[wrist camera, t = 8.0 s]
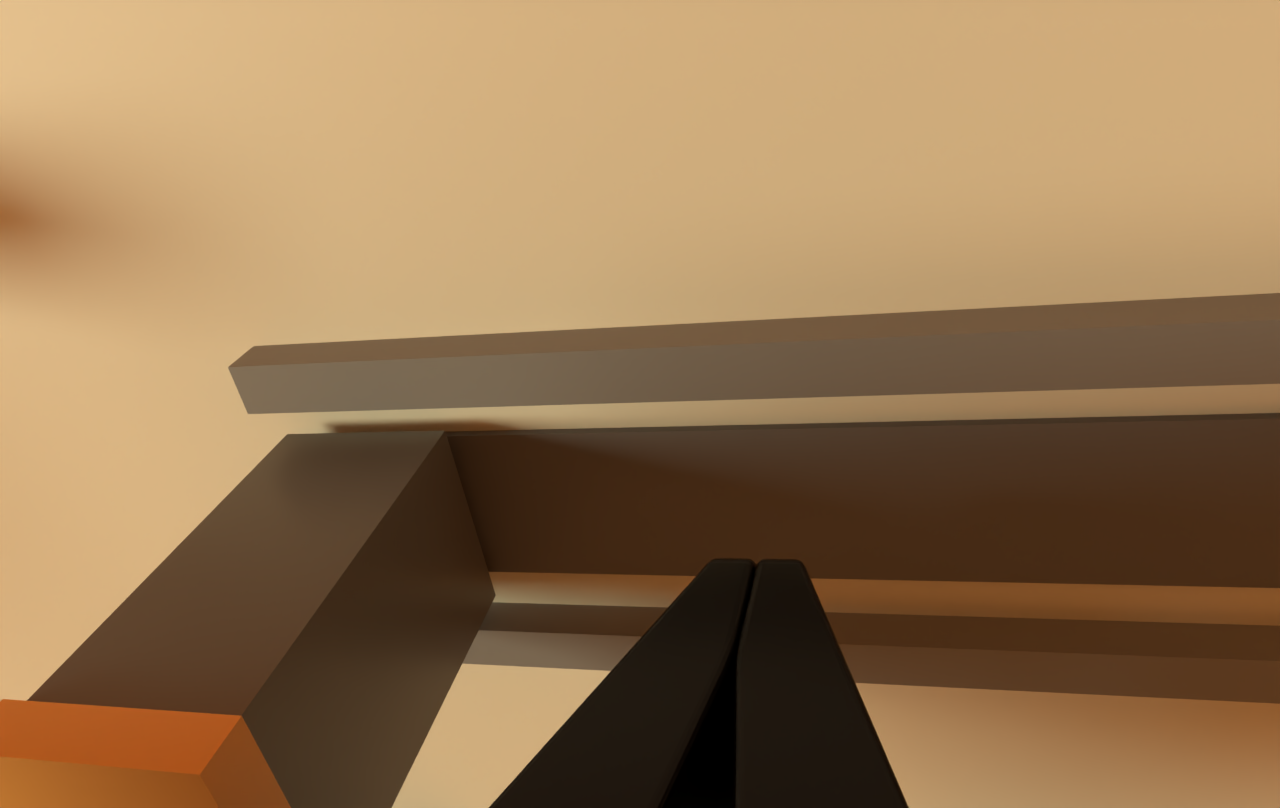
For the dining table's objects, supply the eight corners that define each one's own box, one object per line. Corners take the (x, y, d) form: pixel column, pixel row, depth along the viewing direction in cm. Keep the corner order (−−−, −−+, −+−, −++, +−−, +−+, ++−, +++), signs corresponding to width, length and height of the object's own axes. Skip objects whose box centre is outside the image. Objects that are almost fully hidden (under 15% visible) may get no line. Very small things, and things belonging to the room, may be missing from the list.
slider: (505, 601, 11) (323, 984, 7) (346, 596, 12) (103, 950, 8) (451, 422, 10) (199, 775, 6) (277, 427, 10) (-51, 752, 7)
